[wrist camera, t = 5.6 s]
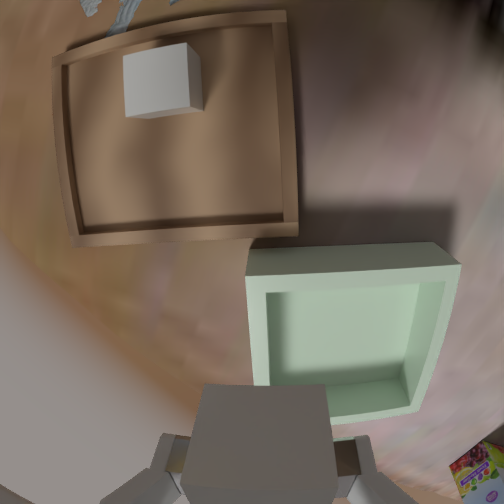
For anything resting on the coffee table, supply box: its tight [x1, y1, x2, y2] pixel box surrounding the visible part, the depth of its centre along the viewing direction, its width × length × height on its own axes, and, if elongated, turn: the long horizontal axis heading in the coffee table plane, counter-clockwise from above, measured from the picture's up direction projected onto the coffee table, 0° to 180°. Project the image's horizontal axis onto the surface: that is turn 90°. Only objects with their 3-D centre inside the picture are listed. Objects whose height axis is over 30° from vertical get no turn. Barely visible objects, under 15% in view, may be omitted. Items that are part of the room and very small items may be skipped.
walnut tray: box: [52, 10, 299, 248], centre depth 21 cm, size 18×16×2 cm
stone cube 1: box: [180, 384, 339, 504], centre depth 9 cm, size 4×4×4 cm
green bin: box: [245, 242, 462, 425], centre depth 24 cm, size 15×15×5 cm
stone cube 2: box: [123, 43, 204, 119], centre depth 18 cm, size 4×4×4 cm
